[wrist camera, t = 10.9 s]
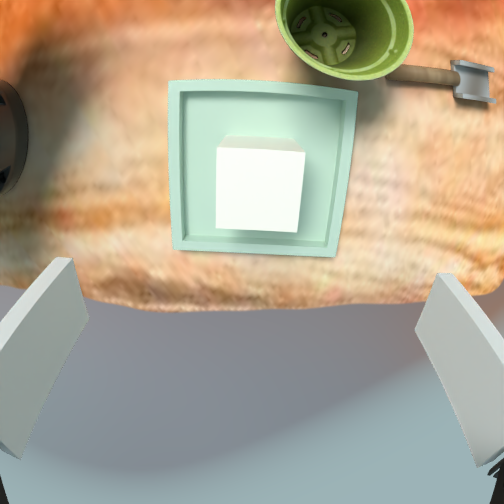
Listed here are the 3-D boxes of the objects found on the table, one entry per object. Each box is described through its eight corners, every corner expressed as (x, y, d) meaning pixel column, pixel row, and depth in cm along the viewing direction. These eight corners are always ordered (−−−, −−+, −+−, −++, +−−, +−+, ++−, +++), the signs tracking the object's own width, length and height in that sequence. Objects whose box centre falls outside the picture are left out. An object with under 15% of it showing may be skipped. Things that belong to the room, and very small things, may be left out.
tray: (177, 240, 32) (172, 249, 30) (174, 81, 25) (168, 80, 23) (331, 247, 32) (335, 257, 31) (351, 91, 25) (358, 91, 23)
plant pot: (343, 103, 25) (378, 107, 18) (251, 53, 23) (249, 35, 16) (387, 28, 21) (432, 10, 14) (298, -24, 19) (314, -63, 12)
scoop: (386, 91, 25) (394, 92, 23) (382, 52, 23) (389, 50, 21) (486, 101, 24) (496, 103, 22) (484, 67, 22) (494, 67, 20)
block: (224, 198, 29) (215, 228, 23) (226, 134, 27) (216, 147, 20) (288, 201, 29) (297, 232, 23) (293, 138, 27) (305, 152, 20)
